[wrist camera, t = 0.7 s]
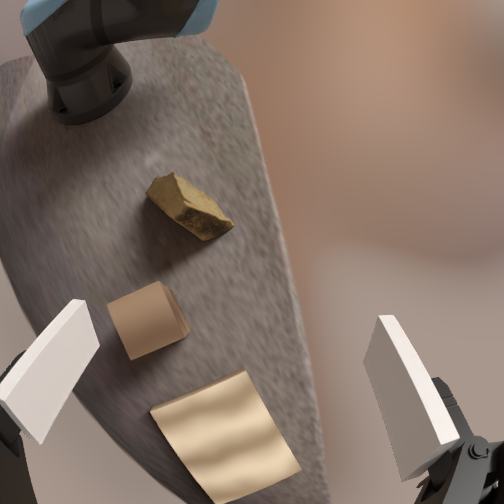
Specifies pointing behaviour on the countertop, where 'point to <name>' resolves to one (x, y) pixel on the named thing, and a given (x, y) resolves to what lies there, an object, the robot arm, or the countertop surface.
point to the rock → (189, 206)
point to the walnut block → (148, 319)
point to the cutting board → (226, 438)
